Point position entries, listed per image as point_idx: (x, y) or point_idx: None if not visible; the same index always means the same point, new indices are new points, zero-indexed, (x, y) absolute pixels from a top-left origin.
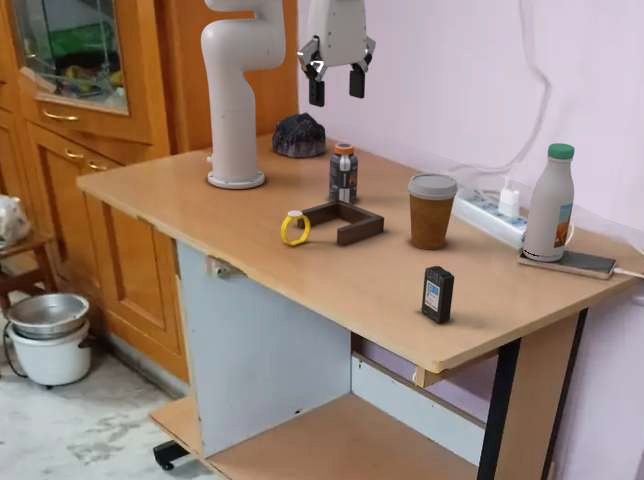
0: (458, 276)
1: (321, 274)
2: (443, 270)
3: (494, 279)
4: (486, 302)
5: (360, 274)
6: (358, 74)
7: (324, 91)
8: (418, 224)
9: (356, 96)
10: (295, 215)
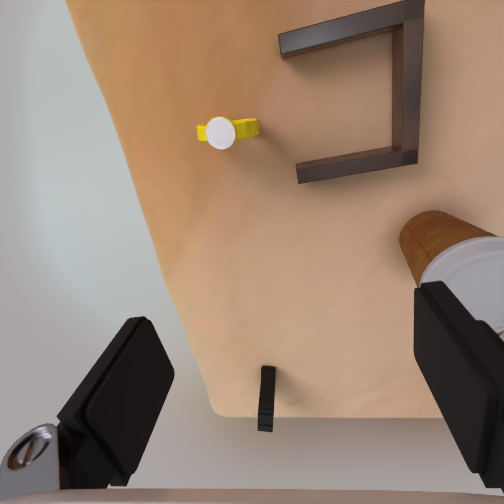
0: (366, 330)
1: (213, 246)
2: (270, 422)
3: (396, 354)
4: (338, 380)
5: (260, 270)
6: (474, 454)
7: (151, 430)
8: (408, 262)
9: (415, 331)
10: (216, 144)
